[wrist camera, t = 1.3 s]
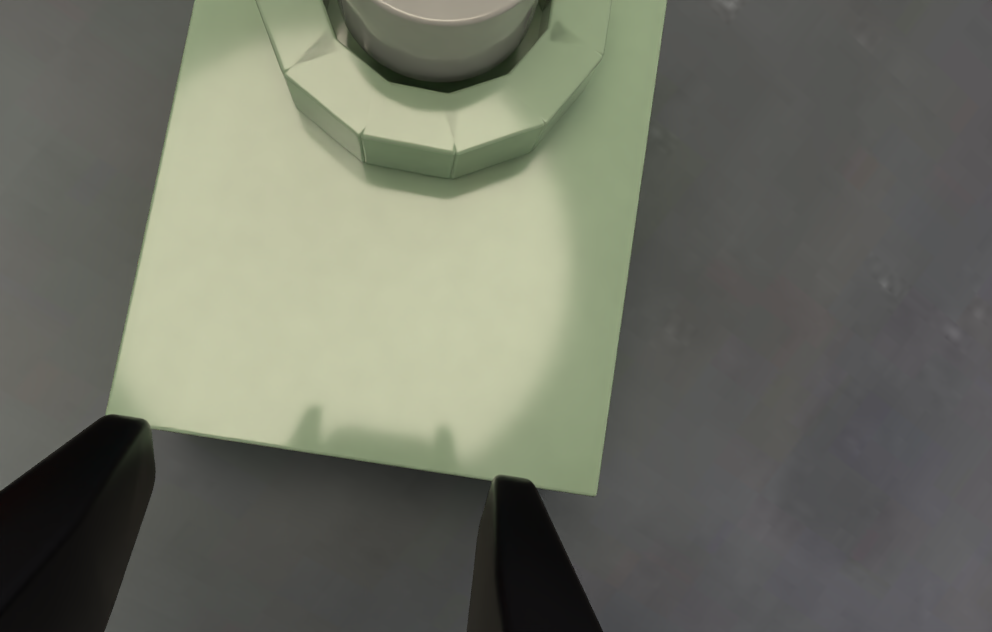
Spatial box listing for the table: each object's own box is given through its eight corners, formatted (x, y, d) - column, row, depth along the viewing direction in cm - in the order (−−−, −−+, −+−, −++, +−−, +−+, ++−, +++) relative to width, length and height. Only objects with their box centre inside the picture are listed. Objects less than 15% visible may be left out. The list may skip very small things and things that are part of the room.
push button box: (552, 474, 22) (620, 509, 15) (176, 416, 21) (63, 423, 14) (620, 25, 23) (709, -132, 17) (271, -47, 23) (211, -245, 16)
